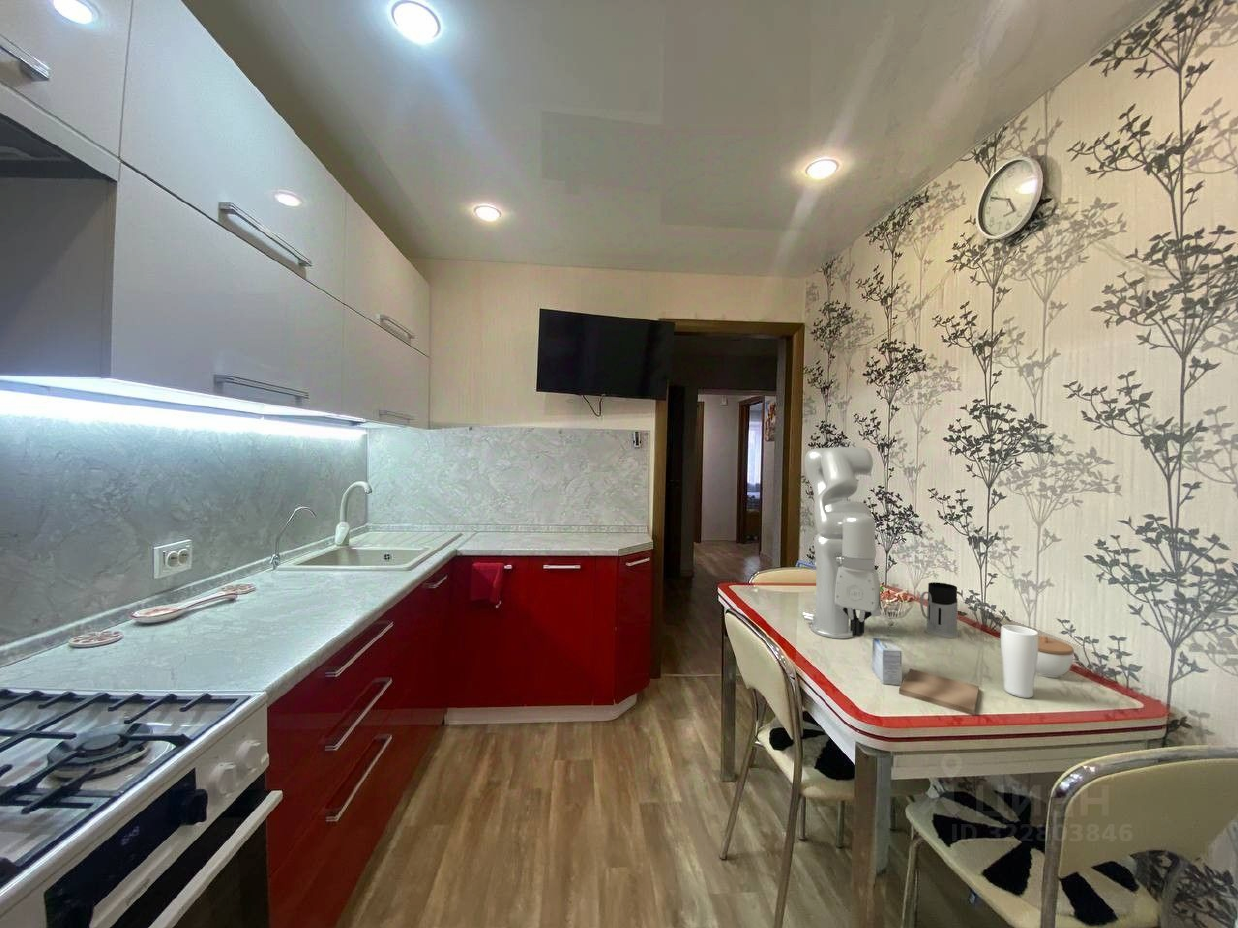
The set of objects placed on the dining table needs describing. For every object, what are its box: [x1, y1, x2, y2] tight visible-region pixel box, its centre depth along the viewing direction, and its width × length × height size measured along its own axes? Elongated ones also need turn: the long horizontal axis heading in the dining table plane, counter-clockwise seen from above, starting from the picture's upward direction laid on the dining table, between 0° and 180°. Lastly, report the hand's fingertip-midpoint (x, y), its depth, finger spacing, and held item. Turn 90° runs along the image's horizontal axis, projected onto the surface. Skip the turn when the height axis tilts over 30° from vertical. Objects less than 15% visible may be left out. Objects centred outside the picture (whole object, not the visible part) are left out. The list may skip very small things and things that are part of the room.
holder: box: [919, 581, 959, 639], centre depth 149 cm, size 9×14×15 cm, turn 113°
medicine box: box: [871, 637, 903, 687], centre depth 118 cm, size 8×4×9 cm, turn 168°
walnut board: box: [898, 668, 980, 716], centre depth 111 cm, size 14×14×1 cm
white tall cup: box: [1000, 624, 1039, 699], centre depth 111 cm, size 7×7×15 cm
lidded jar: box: [1035, 635, 1074, 679], centre depth 123 cm, size 11×11×9 cm
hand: (857, 634), depth 122 cm, fingers closed
